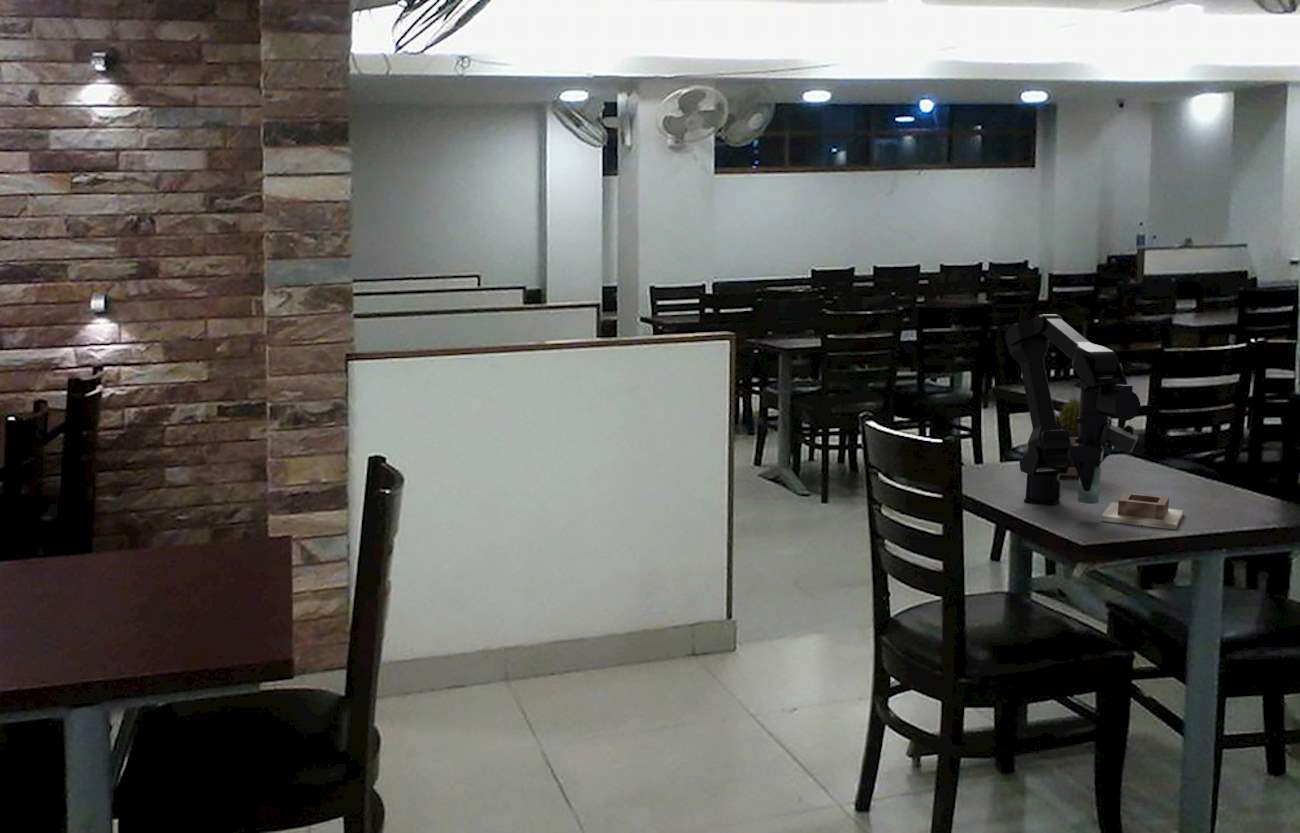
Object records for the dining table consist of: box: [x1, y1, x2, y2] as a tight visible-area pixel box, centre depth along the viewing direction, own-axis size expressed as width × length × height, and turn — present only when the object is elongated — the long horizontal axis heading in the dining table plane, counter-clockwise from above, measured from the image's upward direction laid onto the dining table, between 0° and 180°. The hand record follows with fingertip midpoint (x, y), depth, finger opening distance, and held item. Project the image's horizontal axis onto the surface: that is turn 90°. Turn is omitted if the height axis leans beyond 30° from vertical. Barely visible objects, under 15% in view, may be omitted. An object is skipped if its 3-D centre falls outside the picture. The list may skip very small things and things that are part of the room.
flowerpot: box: [1054, 394, 1080, 481], centre depth 300 cm, size 14×15×20 cm
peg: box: [1077, 466, 1102, 505], centre depth 259 cm, size 4×4×7 cm
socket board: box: [1100, 491, 1185, 530], centre depth 261 cm, size 14×14×4 cm
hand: (1088, 489), depth 259 cm, fingers closed on peg, 4 cm apart
